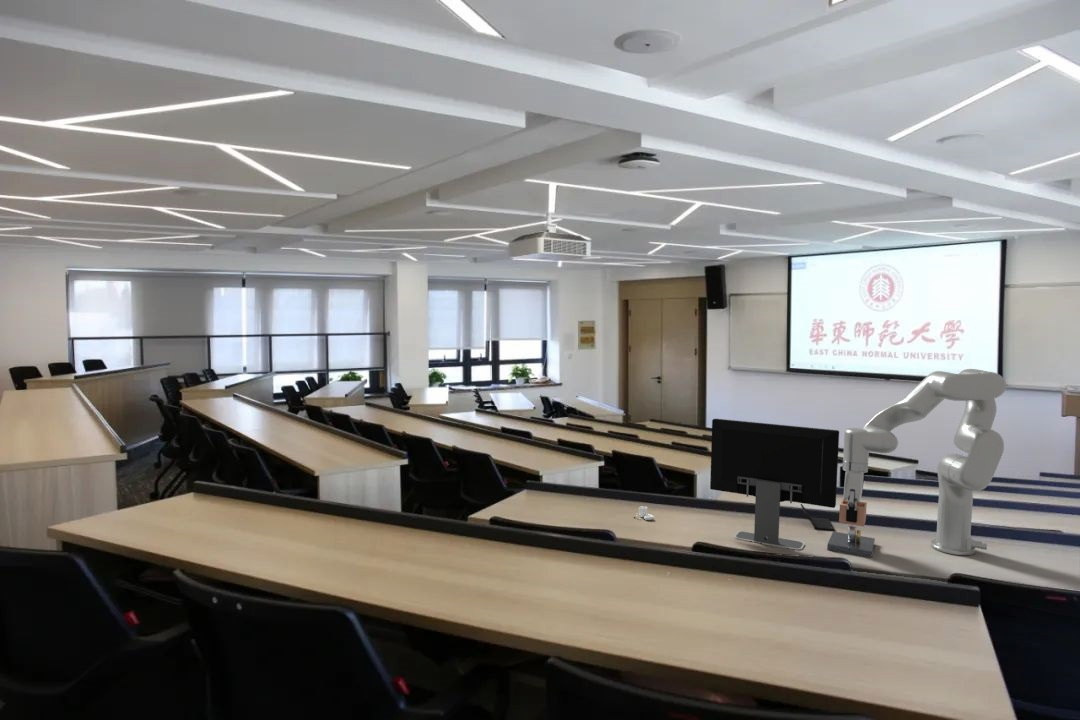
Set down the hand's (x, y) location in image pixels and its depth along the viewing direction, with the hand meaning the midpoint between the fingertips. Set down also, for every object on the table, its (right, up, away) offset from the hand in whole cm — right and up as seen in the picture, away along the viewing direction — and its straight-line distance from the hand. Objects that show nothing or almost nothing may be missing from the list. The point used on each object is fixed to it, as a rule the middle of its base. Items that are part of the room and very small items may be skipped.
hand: (852, 518), depth 220 cm
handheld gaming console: (-2, -8, +23) cm, 25 cm away
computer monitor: (-26, -9, +6) cm, 28 cm away
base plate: (0, -10, +1) cm, 10 cm away
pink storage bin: (0, -1, 0) cm, 1 cm away
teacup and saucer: (-67, -8, +28) cm, 73 cm away
